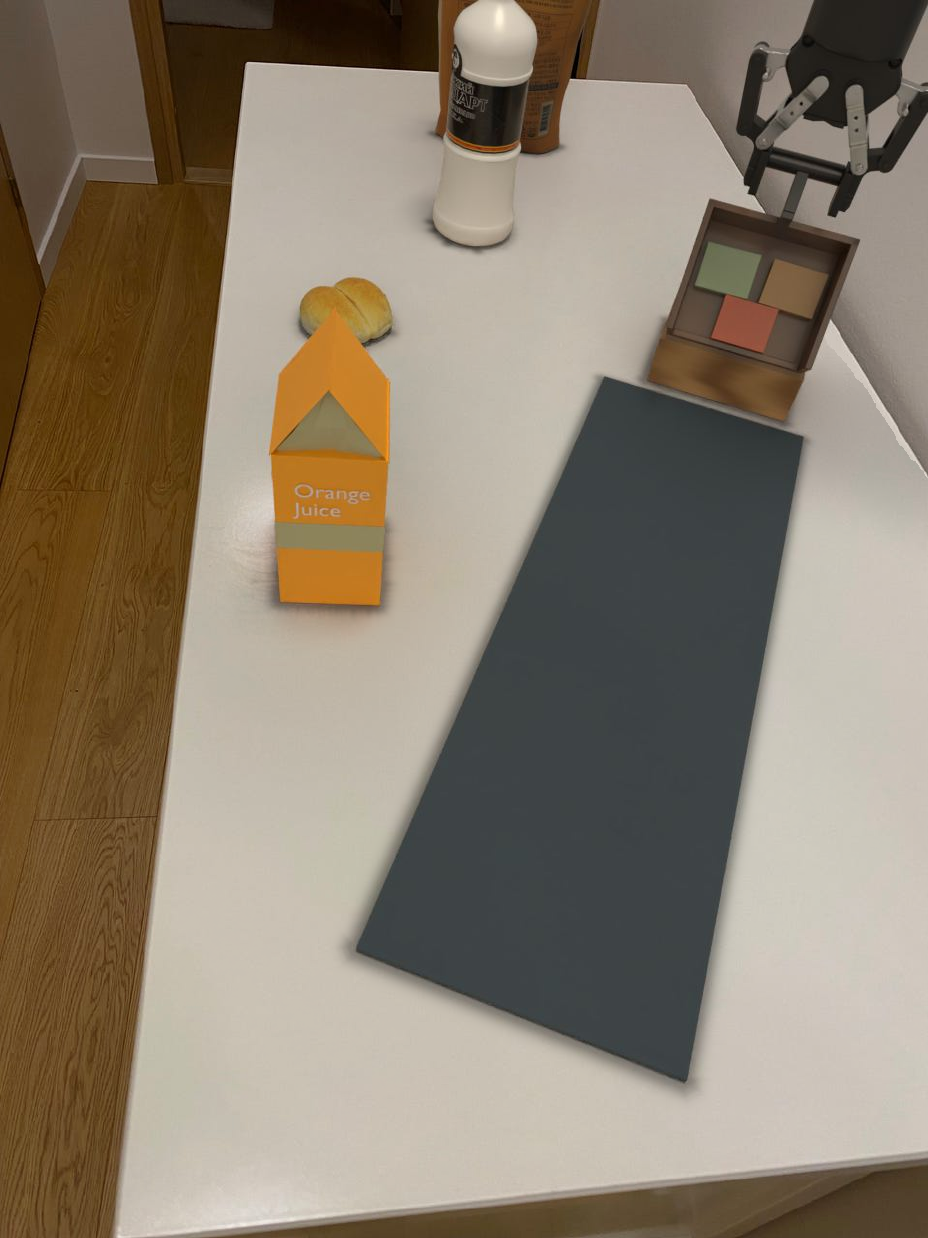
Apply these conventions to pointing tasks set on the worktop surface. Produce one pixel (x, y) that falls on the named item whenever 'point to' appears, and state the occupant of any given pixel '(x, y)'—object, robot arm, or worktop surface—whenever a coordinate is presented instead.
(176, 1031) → the worktop surface
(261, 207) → the worktop surface
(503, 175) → the white bottle
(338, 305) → the bread roll
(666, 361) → the stand
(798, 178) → the wooden box with handle
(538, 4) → the pancake mix bag
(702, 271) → the block
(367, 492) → the orange juice
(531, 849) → the mat
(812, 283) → the kraft packet
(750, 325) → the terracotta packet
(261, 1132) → the worktop surface
